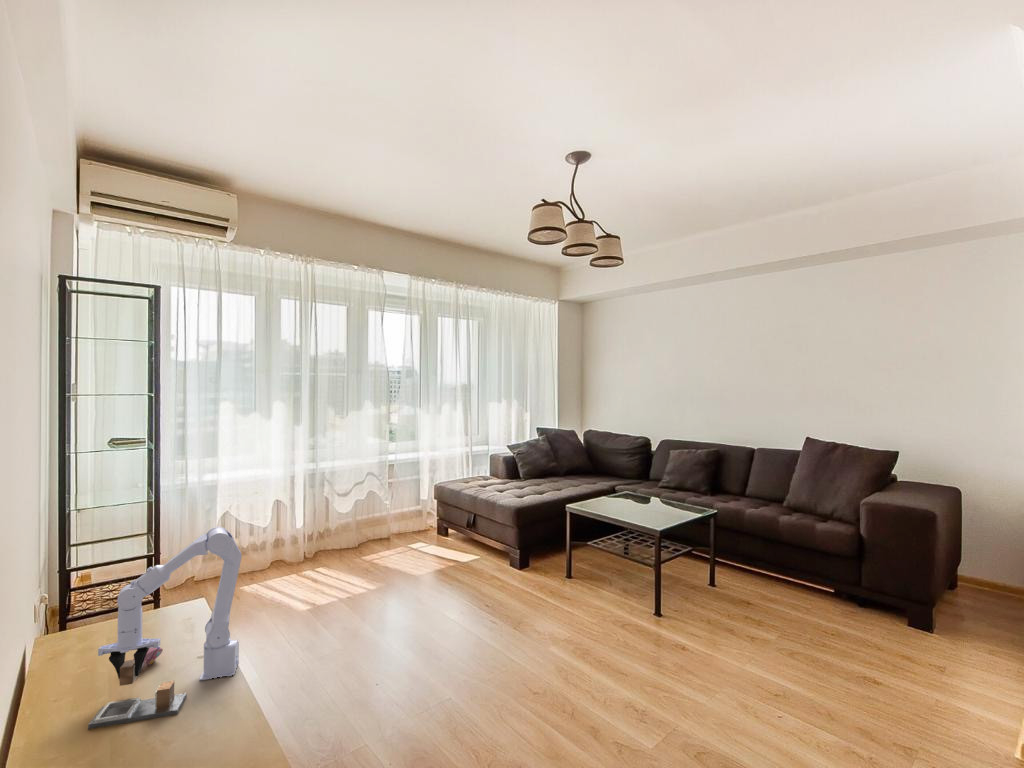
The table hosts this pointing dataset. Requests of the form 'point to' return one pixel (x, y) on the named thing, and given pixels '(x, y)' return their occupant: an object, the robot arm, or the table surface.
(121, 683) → the wooden block
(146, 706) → the grey holder base
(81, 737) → the table surface
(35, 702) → the table surface
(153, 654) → the video game controller
